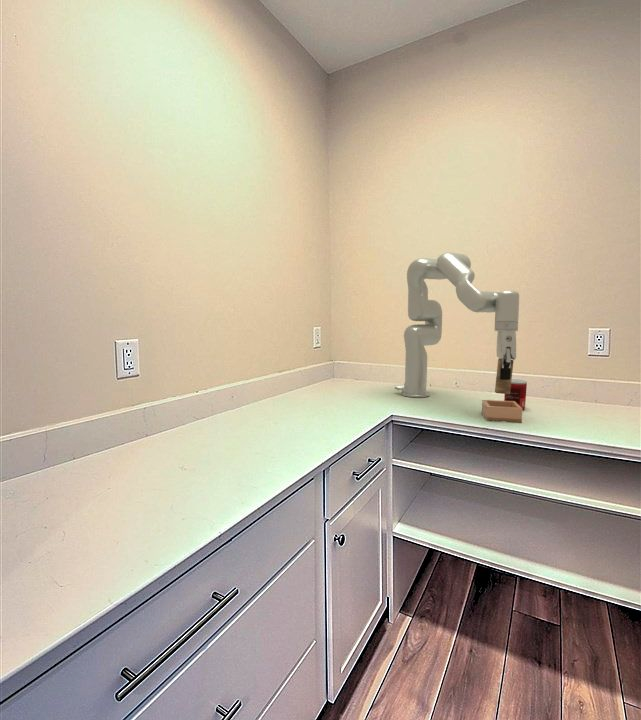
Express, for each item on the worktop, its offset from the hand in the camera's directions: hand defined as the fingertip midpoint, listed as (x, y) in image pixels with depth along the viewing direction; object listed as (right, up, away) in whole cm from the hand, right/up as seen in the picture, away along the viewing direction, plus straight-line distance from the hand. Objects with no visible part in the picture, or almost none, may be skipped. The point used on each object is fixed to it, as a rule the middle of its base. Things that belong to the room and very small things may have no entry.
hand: (504, 378), depth 150 cm
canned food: (+11, -13, +16) cm, 23 cm away
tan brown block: (0, -5, +1) cm, 5 cm away
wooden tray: (0, -14, +2) cm, 14 cm away
